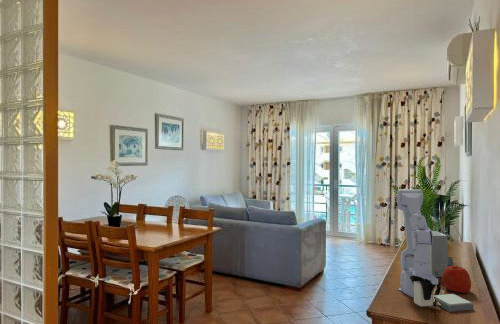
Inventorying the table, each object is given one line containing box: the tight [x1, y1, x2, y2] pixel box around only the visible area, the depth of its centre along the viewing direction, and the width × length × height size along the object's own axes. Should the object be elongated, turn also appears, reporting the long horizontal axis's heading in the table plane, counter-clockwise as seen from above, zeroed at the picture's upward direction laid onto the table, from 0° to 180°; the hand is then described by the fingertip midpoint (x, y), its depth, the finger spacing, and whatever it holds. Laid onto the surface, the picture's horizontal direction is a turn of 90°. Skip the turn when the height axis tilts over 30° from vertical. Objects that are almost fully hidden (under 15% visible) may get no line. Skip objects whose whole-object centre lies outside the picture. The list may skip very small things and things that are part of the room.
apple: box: [441, 265, 472, 294], centre depth 150 cm, size 11×11×11 cm
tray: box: [433, 293, 474, 313], centre depth 134 cm, size 10×10×2 cm
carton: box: [413, 281, 434, 307], centre depth 132 cm, size 4×5×8 cm
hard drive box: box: [430, 230, 449, 278], centre depth 175 cm, size 16×8×20 cm, turn 168°
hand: (423, 297), depth 132 cm, fingers closed on carton, 4 cm apart
